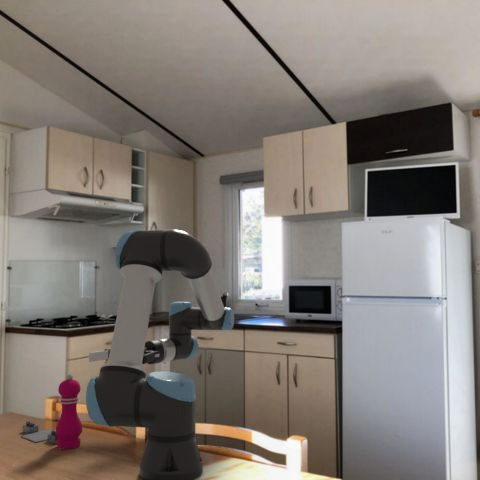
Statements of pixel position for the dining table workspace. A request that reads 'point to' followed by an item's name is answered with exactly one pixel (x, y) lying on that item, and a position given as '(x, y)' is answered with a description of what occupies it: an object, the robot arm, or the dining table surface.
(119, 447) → the dining table surface
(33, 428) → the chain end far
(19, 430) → the dining table surface
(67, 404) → the pepper mill
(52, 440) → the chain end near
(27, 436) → the plate
